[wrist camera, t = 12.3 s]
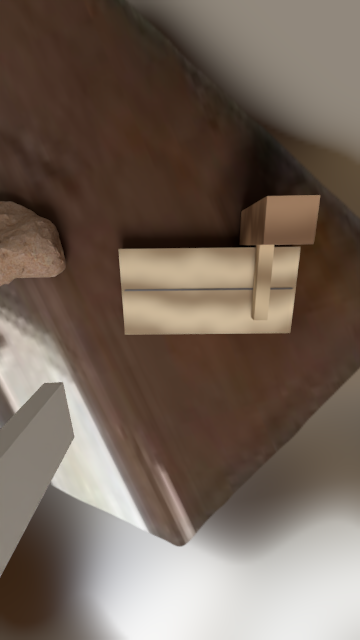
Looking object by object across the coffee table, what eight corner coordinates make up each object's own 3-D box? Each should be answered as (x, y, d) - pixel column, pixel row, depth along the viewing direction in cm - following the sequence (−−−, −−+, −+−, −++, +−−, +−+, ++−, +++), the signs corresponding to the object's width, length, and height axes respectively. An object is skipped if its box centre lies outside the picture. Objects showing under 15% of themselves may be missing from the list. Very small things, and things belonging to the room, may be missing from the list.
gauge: (241, 207, 33) (267, 190, 23) (278, 206, 33) (321, 189, 23) (235, 312, 38) (256, 336, 27) (268, 312, 37) (301, 336, 27)
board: (122, 248, 35) (118, 249, 33) (292, 246, 35) (300, 246, 32) (128, 329, 39) (125, 334, 36) (283, 327, 38) (290, 333, 36)
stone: (-6, 268, 38) (-28, 311, 31) (-55, 207, 31) (-96, 247, 25) (75, 249, 39) (70, 288, 32) (44, 186, 32) (30, 219, 25)
